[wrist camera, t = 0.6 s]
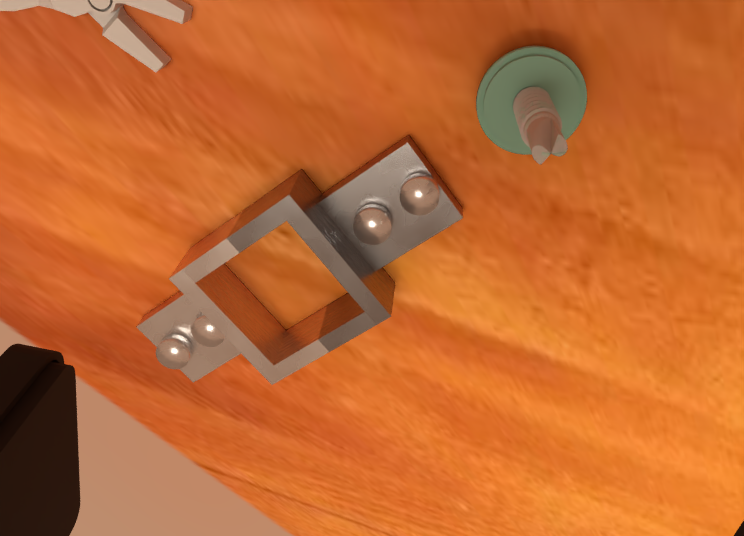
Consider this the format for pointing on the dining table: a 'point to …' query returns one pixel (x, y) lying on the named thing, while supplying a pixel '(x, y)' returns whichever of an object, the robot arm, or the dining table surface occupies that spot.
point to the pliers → (118, 22)
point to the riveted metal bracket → (331, 245)
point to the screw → (532, 101)
